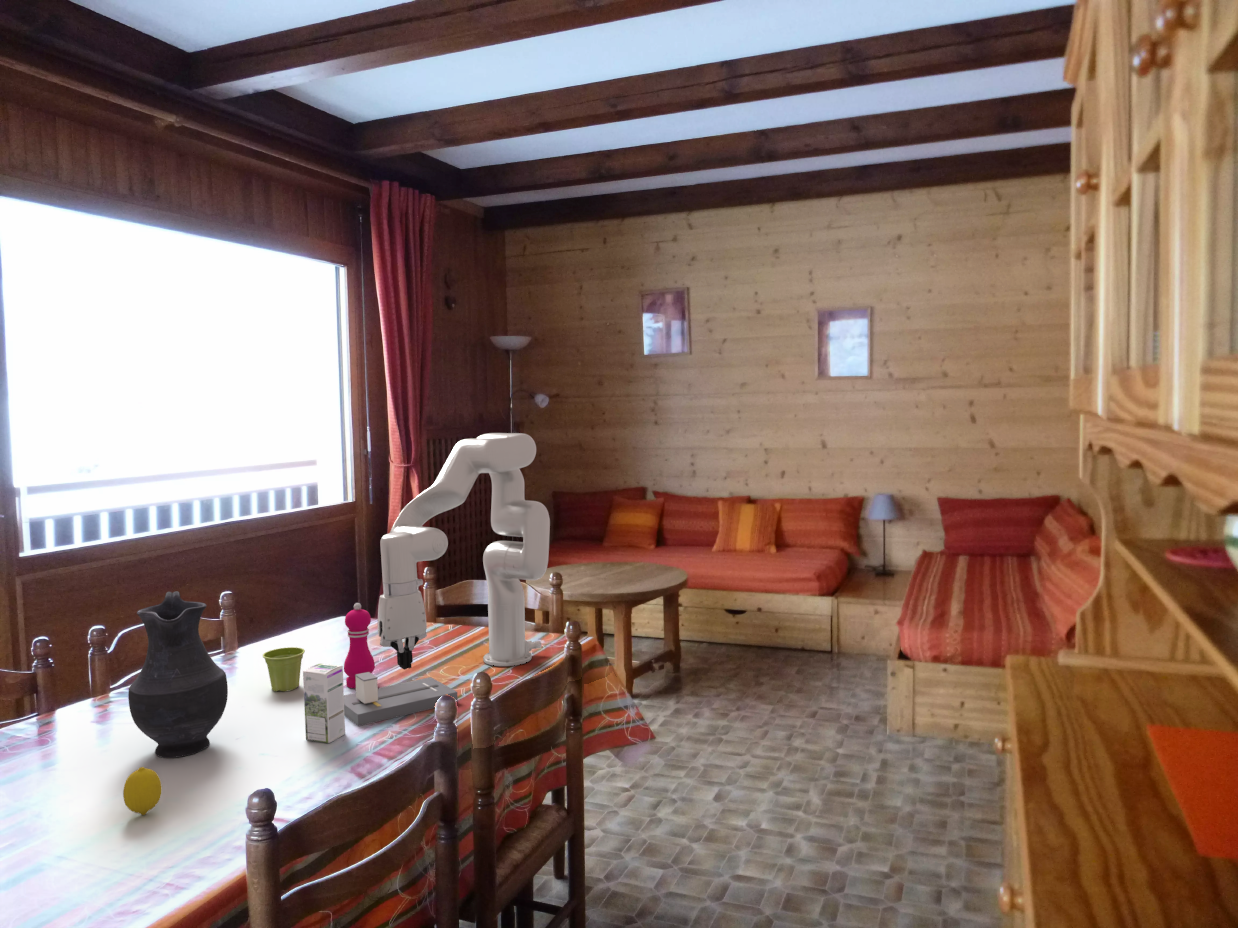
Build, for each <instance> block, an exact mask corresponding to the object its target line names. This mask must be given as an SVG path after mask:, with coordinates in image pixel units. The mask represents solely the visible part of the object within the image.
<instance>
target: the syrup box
mask: <svg viewBox="0 0 1238 928" xmlns="http://www.w3.org/2000/svg"><path fill="white" fill-rule="evenodd" d="M302 677H303V679H302V680H303V702H304V703H303V704H304V724H305V726H304V727H305V741H310V742H317V743H324V744H330V743H332V742H333V741H336V740H338V739H339V738H340V737H342V736H344V735H346V720H345V717H346V716H345V715H344V694H345V693H344V690H345V689H344V665H340V664H339V665H338V664H327V663H318V664H315V665H312V666H310V667H308V668H307V669H305V670H302Z"/></svg>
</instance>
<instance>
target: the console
mask: <svg viewBox="0 0 1238 928" xmlns="http://www.w3.org/2000/svg"><path fill="white" fill-rule="evenodd" d="M445 694H448V695H450V696H452V697H454V698H455V699H456V700H457V702H459V701H458V700H459V699H458V698H459V697H458V691H457V690H455V689H453V688H451V687H450V686H448V685H446V684H444V683H442V682H440V681H438V680H437V679H435V678H433V677H431V676H430V677H424V678H420V679H415V680H411V681H406V682H401V683H395V684H392V685H387V686H382V687H378V701H375V702H370V703H365V704H364V703H363V702H361V701H360V700H359V699H357V698H356V692H354V693H350V694H349V693H348V694H345V695H344V717H346V718H347V719H348V720H350V722H352V723H353V724H355V725H356V726H357V727H360V726H365V725H369V724H373V723H377V722H382V721H385V720H391V719H394V718H398V717H399V718H400V717H402V716H407V715H412V714H416V713H421V712H423V711H428V710H432V709H435V708H434V706H435V703H436V702H437V700H438V699H439V698H440V697H441V696H442V695H445Z"/></svg>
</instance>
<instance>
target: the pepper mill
mask: <svg viewBox="0 0 1238 928" xmlns="http://www.w3.org/2000/svg"><path fill="white" fill-rule="evenodd" d="M371 622H372V617H371V614H370V612H369V611H367V610H365V609H362V605H361V603H360V602H355V603H354V605H353V609H351V610H350V611H349V612H347V613H346V615H345V618H344V625H345V627H346V628H347V637H348V638H349V648H348V652H347V654H346V657H345V660H344V663H343V673H345V674H346V675H347V677H346V679H345V680H346V683H345V684H346V687H348V688H349V689H356V676H355V675H356V674H361V673H366V672H370V673H371V674H373V672H374V670H375V669H376V665H375V659H374V657H373V655H372V653H371V651H370V648H369V645H368V643H369V642H368V636H369V635H370V632H369V631H370V628H369V626H370V624H371Z"/></svg>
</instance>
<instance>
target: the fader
mask: <svg viewBox="0 0 1238 928" xmlns="http://www.w3.org/2000/svg"><path fill="white" fill-rule="evenodd" d="M355 676H356V688H355V693H356V698H357V699H359V700H360V701H361V702H363V703H364V704H365V703H370V702H375V701H378V688H379V687H378V676H377V675H375V674H373V673H370V672H366V673H361V674H356V675H355Z"/></svg>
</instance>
